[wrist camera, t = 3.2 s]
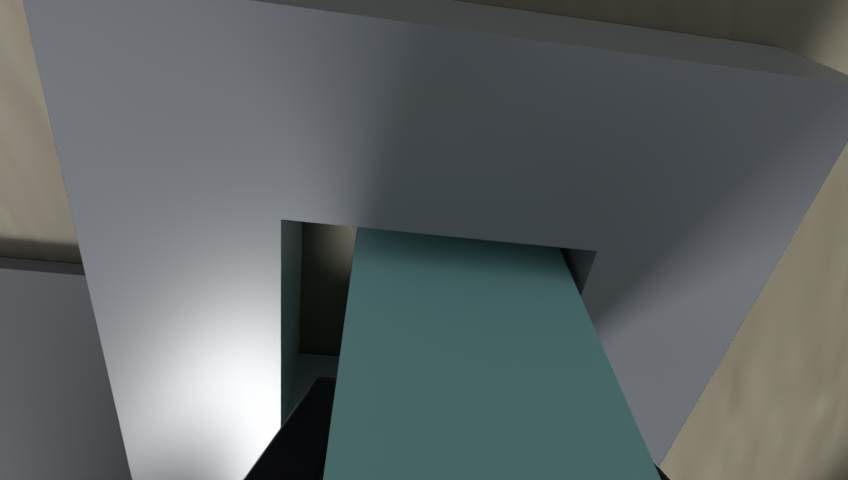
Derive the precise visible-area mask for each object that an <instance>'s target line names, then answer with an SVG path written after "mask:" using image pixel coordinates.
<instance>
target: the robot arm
mask: <svg viewBox="0 0 848 480" xmlns="http://www.w3.org/2000/svg"><path fill="white" fill-rule="evenodd" d="M336 381H337V377H330V376H319V377H317V378H316V379H315V381H314V382H313V384H312V385H311V386H310V388H309V389H308V390H307V392H306V393H305V395H304V396H303V397H302V399H301V400H300V402H299V403H298V404H297V406H296V407H295V409H294V410H293V411H292V413H291V414H290V415H289V417H288V418H287V420H286V421H285V422H284V424H283V425H282V427H281V428H280V429H279V431H278V432H277V433H276V435H275V436H274V438H273V439H272V440H271V442H270V443H269V445H268V446H267V447H266V449H265V450H264V452H263V453H262V454H261V456H260V457H259V458H258V460H257V461H256V463H255V464H254V465H253V467H252V468H251V470H250V471H249V472H248V474H247V475H246V477H245V478H244V479H243V480H323V476H324V469H325V461H326V454H327V447H328V439H329V432H330V425H331V417H332V410H333V403H334V395H335V388H336ZM654 465H655V467H656V469H657V472H658V474H659V476H660V478H661V480H670V479H669V478H668V477H667V476H666V475H665V474H664V473H663V472H662V471H661V469H660V468H659V467H658V466H657V465H656V464H655V463H654Z"/></svg>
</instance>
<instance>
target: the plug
mask: <svg viewBox="0 0 848 480" xmlns="http://www.w3.org/2000/svg"><path fill="white" fill-rule="evenodd" d="M323 480H661V478H660V476H659V474H658V472H657V469H656V467H655V465H654V462H653V460H652V458H651V456H650V453H649V451H648V449H647V446H646V444H645V442H644V440H643V437H642V435H641V433H640V431H639V428H638V426H637V424H636V421H635V419H634V417H633V415H632V412H631V410H630V408H629V406H628V403H627V401H626V399H625V396H624V394H623V392H622V390H621V387H620V385H619V383H618V381H617V378H616V376H615V374H614V371H613V369H612V367H611V365H610V362H609V360H608V358H607V356H606V353H605V351H604V349H603V346H602V344H601V342H600V340H599V337H598V335H597V333H596V331H595V328H594V326H593V324H592V321H591V319H590V317H589V315H588V312H587V310H586V308H585V306H584V303H583V301H582V299H581V296H580V294H579V292H578V290H577V287H576V285H575V283H574V280H573V278H572V276H571V274H570V271H569V269H568V267H567V265H566V262H565V260H564V258H563V255H562V253H561V251H560V249H559V247H551V246H541V245H531V244H521V243H511V242H501V241H491V240H481V239H471V238H461V237H451V236H441V235H431V234H421V233H411V232H401V231H392V230H382V229H372V228H362V227H357V234H356V241H355V248H354V256H353V263H352V270H351V278H350V285H349V292H348V300H347V307H346V314H345V322H344V329H343V337H342V344H341V351H340V359H339V366H338V373H337V381H336V388H335V395H334V403H333V410H332V417H331V425H330V432H329V439H328V447H327V454H326V461H325V469H324V476H323Z"/></svg>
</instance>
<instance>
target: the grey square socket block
mask: <svg viewBox="0 0 848 480" xmlns="http://www.w3.org/2000/svg"><path fill="white" fill-rule="evenodd" d="M23 4H24V9H25V13H26V18H27V22H28V26H29V31H30V35H31V39H32V44H33V48H34V52H35V57H36V61H37V66H38V70H39V74H40V79H41V83H42V87H43V92H44V96H45V100H46V105H47V109H48V114H49V118H50V122H51V127H52V131H53V135H54V140H55V144H56V149H57V153H58V157H59V162H60V166H61V170H62V175H63V179H64V183H65V188H66V192H67V197H68V201H69V205H70V210H71V214H72V218H73V223H74V227H75V231H76V236H77V240H78V245H79V249H80V253H81V258H82V262H83V266H84V271H85V275H86V279H87V284H88V288H89V293H90V297H91V301H92V306H93V310H94V314H95V319H96V323H97V327H98V332H99V336H100V341H101V345H102V349H103V354H104V358H105V362H106V367H107V371H108V375H109V380H110V384H111V389H112V393H113V397H114V402H115V406H116V410H117V415H118V419H119V424H120V428H121V432H122V437H123V441H124V445H125V450H126V454H127V458H128V463H129V467H130V472H131V476H132V480H243V479H244V478H245V477H246V475H247V474H248V472H249V471H250V470H251V468H252V467H253V465H254V464H255V463H256V461H257V460H258V458H259V457H260V456H261V454H262V453H263V452H264V450H265V449H266V447H267V446H268V445H269V443H270V442H271V440H272V439H273V438H274V436H275V435H276V433H277V432H278V431H279V429H280V428H281V427H282V425H283V424H284V422H285V421H286V420H287V418H288V417H289V415H290V414H291V413H292V411H293V410H294V409H295V407H296V406H297V404H298V403H299V402H300V400H301V399H302V397H303V396H304V395H305V393H306V392H307V390H308V389H309V388H310V386H311V385H312V384H313V382H314V381H315V379H316V378H317V377H319V376H330V377H337V373H338V366H339V359H340V356H330V355H317V354H304V353H299V332H300V293H301V253H302V222H312V223H322V224H332V225H342V226H352V227H362V228H372V229H382V230H392V231H401V232H411V233H421V234H431V235H441V236H451V237H461V238H471V239H481V240H491V241H501V242H511V243H521V244H531V245H541V246H551V247H559V249H560V251H561V253H562V255H563V258H564V260H565V262H566V265H567V267H568V269H569V271H570V274H571V276H572V278H573V280H574V283H575V285H576V287H577V290H578V292H579V294H580V296H581V299H582V301H583V303H584V306H585V308H586V310H587V312H588V315H589V317H590V319H591V321H592V324H593V326H594V328H595V331H596V333H597V335H598V337H599V340H600V342H601V344H602V346H603V349H604V351H605V353H606V356H607V358H608V360H609V362H610V365H611V367H612V369H613V371H614V374H615V376H616V378H617V381H618V383H619V385H620V387H621V390H622V392H623V394H624V396H625V399H626V401H627V403H628V406H629V408H630V410H631V412H632V415H633V417H634V419H635V421H636V424H637V426H638V428H639V431H640V433H641V435H642V437H643V440H644V442H645V444H646V446H647V449H648V451H649V453H650V456H651V458H652V460H653V462H654V463H655V464H656V465H657V466H658V467H659V466H660V465H661V463H662V461H663V459H664V458H665V456H666V454H667V453H668V451H669V449H670V447H671V446H672V444H673V442H674V440H675V439H676V437H677V435H678V434H679V432H680V430H681V428H682V427H683V425H684V423H685V421H686V420H687V418H688V416H689V414H690V413H691V411H692V409H693V408H694V406H695V404H696V402H697V401H698V399H699V397H700V395H701V394H702V392H703V390H704V389H705V387H706V385H707V383H708V382H709V380H710V378H711V376H712V375H713V373H714V371H715V370H716V368H717V366H718V364H719V363H720V361H721V359H722V357H723V356H724V354H725V352H726V351H727V349H728V347H729V345H730V344H731V342H732V340H733V338H734V337H735V335H736V333H737V332H738V330H739V328H740V326H741V325H742V323H743V321H744V319H745V318H746V316H747V314H748V313H749V311H750V309H751V307H752V306H753V304H754V302H755V300H756V299H757V297H758V295H759V293H760V292H761V290H762V288H763V287H764V285H765V283H766V281H767V280H768V278H769V276H770V274H771V273H772V271H773V269H774V268H775V266H776V264H777V262H778V261H779V259H780V257H781V255H782V254H783V252H784V250H785V249H786V247H787V245H788V243H789V242H790V240H791V238H792V236H793V235H794V233H795V231H796V230H797V228H798V226H799V224H800V223H801V221H802V219H803V217H804V216H805V214H806V212H807V211H808V209H809V207H810V205H811V204H812V202H813V200H814V198H815V197H816V195H817V193H818V192H819V190H820V188H821V186H822V185H823V183H824V181H825V179H826V178H827V176H828V174H829V172H830V171H831V169H832V167H833V166H834V164H835V162H836V160H837V159H838V157H839V155H840V153H841V152H842V150H843V148H844V147H845V145H846V143H847V141H848V75H846V74H844V73H841V72H839V71H837V70H834V69H832V68H829V67H827V66H824V65H822V64H820V63H817V62H815V61H812V60H810V59H808V58H805V57H803V56H800V55H798V54H795V53H793V52H791V51H788V50H786V49H783V48H781V47H774V46H768V45H761V44H754V43H747V42H740V41H733V40H726V39H719V38H712V37H705V36H698V35H692V34H685V33H678V32H671V31H664V30H657V29H650V28H643V27H636V26H629V25H622V24H615V23H609V22H602V21H595V20H588V19H581V18H574V17H567V16H560V15H553V14H546V13H539V12H532V11H526V10H519V9H512V8H505V7H498V6H491V5H484V4H477V3H470V2H463V1H456V0H23Z"/></svg>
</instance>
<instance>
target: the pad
mask: <svg viewBox="0 0 848 480" xmlns="http://www.w3.org/2000/svg"><path fill="white" fill-rule="evenodd" d="M0 480H132V476H131V472H130V467H129V463H128V458H127V454H126V450H125V445H124V441H123V437H122V432H121V428H120V424H119V419H118V415H117V410H116V406H115V402H114V397H113V393H112V389H111V384H110V380H109V375H108V371H107V367H106V362H105V358H104V354H103V349H102V345H101V341H100V336H99V332H98V327H97V323H96V319H95V314H94V310H93V306H92V301H91V297H90V293H89V288H88V284H87V279H86V275H85V271H84V266H83V264H74V263H63V262H52V261H40V260H29V259H18V258H7V257H0Z"/></svg>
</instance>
